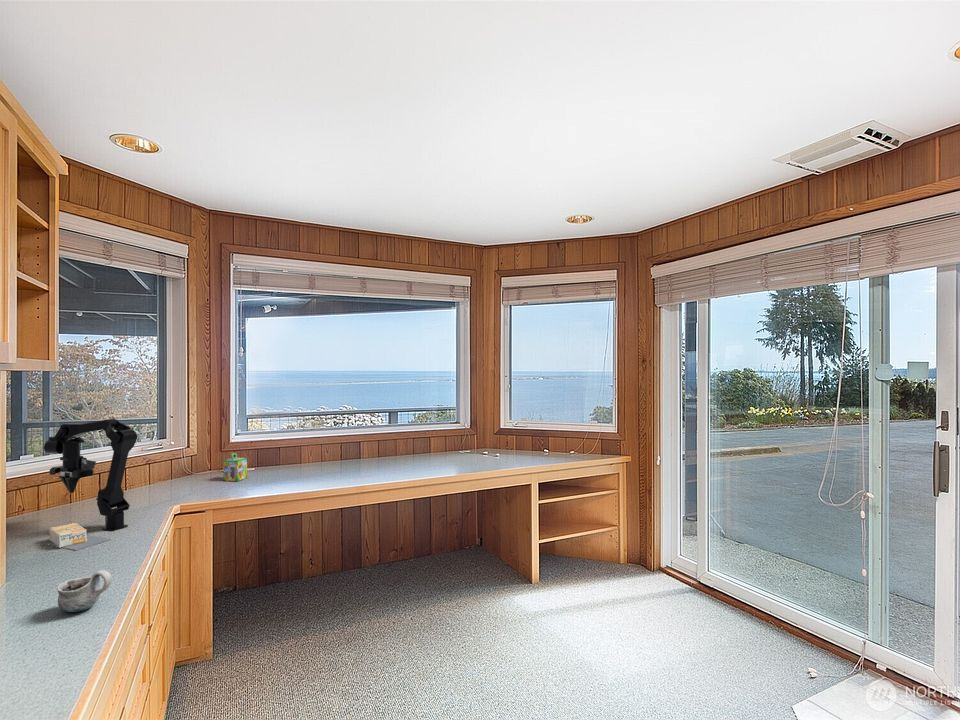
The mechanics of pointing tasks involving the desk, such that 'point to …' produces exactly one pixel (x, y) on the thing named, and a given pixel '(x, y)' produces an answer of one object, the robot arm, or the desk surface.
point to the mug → (82, 592)
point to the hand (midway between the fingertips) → (71, 492)
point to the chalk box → (234, 468)
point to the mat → (85, 543)
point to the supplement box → (68, 535)
